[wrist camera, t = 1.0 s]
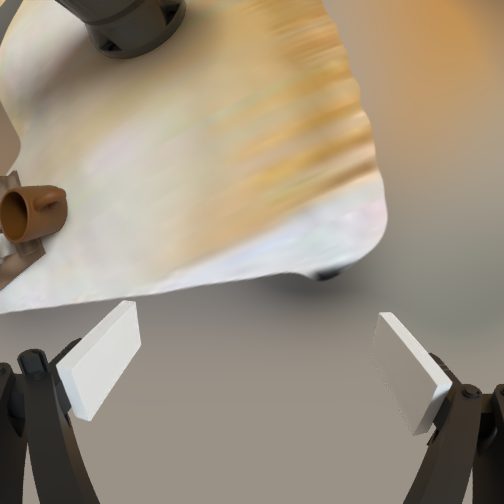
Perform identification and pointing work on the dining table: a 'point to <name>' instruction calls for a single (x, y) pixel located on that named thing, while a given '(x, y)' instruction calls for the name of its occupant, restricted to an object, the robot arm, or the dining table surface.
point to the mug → (32, 212)
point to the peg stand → (15, 254)
